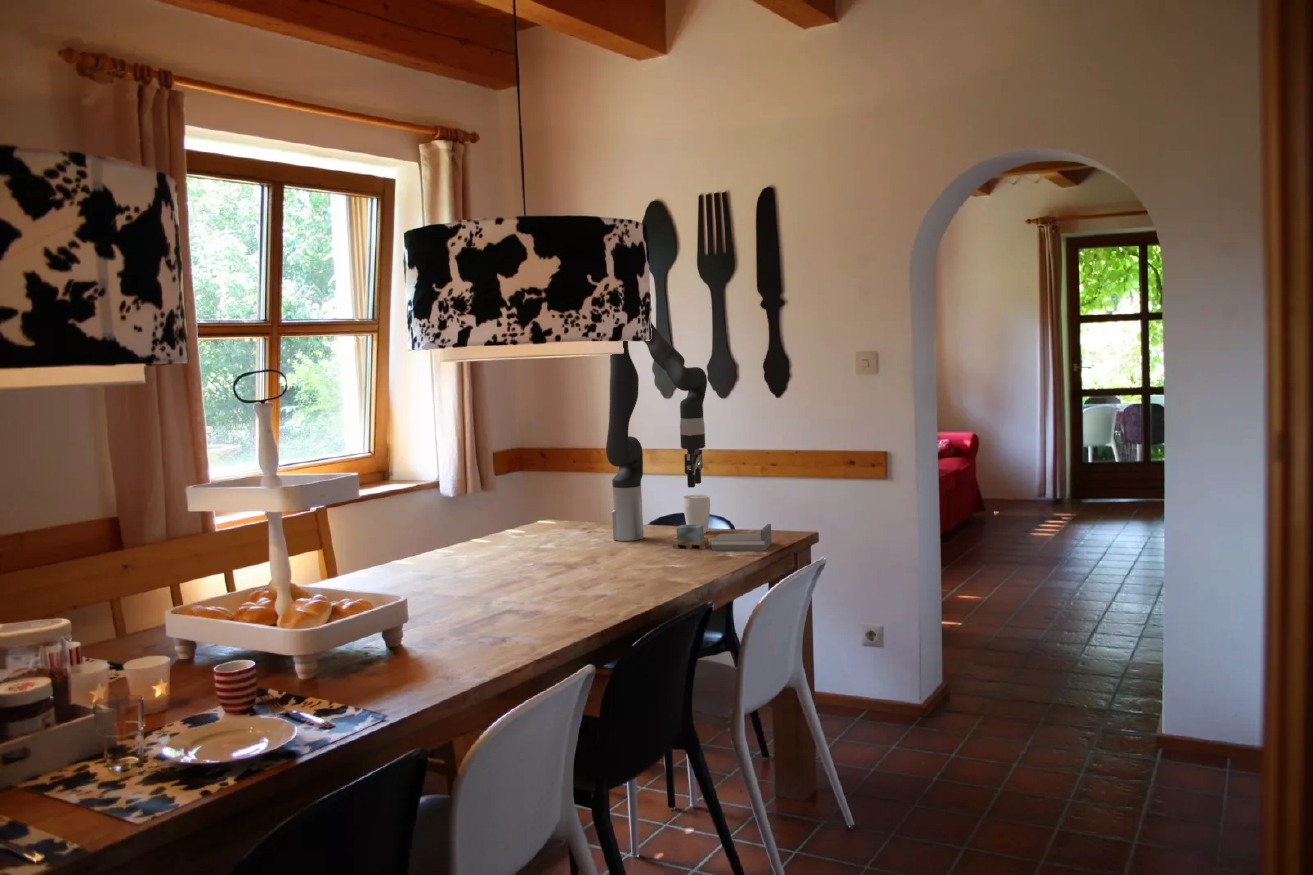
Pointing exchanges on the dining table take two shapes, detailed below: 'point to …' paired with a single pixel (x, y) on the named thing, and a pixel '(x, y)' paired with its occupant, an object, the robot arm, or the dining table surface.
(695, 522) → the cup
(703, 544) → the pallet
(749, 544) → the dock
